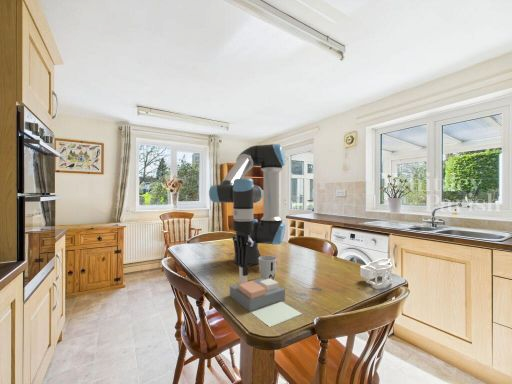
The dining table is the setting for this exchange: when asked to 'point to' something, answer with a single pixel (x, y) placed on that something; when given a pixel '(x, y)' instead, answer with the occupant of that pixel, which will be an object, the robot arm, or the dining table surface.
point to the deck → (259, 302)
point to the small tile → (268, 284)
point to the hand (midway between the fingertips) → (243, 283)
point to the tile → (252, 289)
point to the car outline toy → (377, 272)
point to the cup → (267, 266)
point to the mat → (276, 314)
